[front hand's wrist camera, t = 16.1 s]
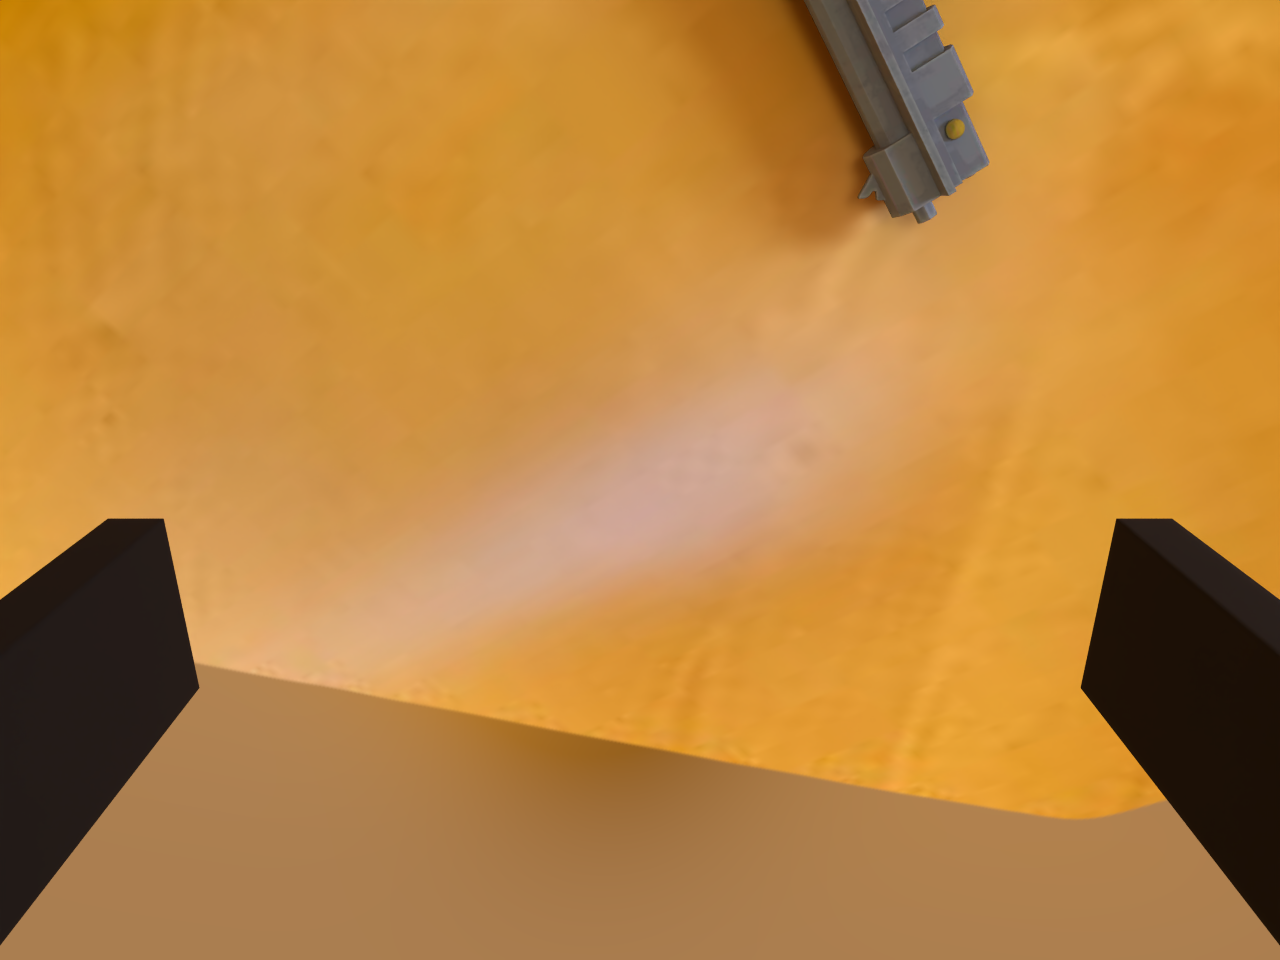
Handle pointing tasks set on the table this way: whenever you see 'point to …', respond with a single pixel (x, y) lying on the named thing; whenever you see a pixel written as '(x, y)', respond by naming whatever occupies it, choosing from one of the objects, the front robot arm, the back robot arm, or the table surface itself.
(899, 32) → the toy gun
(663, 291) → the table surface
